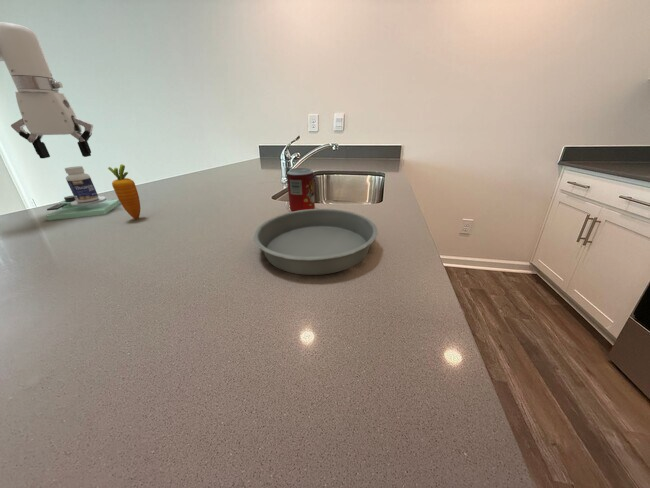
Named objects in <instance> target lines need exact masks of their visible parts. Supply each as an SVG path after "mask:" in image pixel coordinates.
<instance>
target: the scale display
mask: <svg viewBox="0 0 650 488" xmlns="http://www.w3.org/2000/svg"><path fill="white" fill-rule="evenodd" d="M66 205H67V203H64V204H60V203H57V204H54V205H53V206H51V207H49V208H46V211H57V210H59V209H61V208H62V207H64V206H66Z"/></svg>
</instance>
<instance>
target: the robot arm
mask: <svg viewBox="0 0 650 488" xmlns="http://www.w3.org/2000/svg"><path fill="white" fill-rule="evenodd" d="M0 62H4V64H5V66H6V68H7V71H8V73H9V75H10V77H11V80H12V81H13V83H14V85H15V88H16V90H17V91H15V92H14V93H15V98H16V102H17V106H18V109H19V113H20V116H21V117H22V118H20V119H19V120H17V121H15V122H13V123H12V124H10V127H11V128H12V129H13V130H14V131H15V132H16V133H17V134H18V135H19V136H20V137H22V138H23V139H25V140H26V141H27V142H29V143H31V144H32V146H33V148H34V151H35V153H36V155H37V156H38V157H39V159H48V158H50V157H51V155H50V153H49V150H48V148H47V146H46V143H45V142H43V141H42V139H43V137H44V136H59V135H61V136H65V135H70V136H72V137H73V138H75V139H76V140H77V146H78V148H79V151H80V153H81V155H82V157H84V158H87V157H91V156H92V150H91V147H90V145H89V142H88V141H89V140H90V138H91V136H92V134H93V133H92V132H93V130H94V124H92V123H90V122H88V121H85V120H82V119H81V118H78V116H77V115H76V112H75V111H74V109H73V107H72V105H71V104H70V102H69V100H68V98H67V96H65V94H64V93H61V92H60V89H63V87H64V86H63V83H62V82H61V81H57V80H55V78H54V76H53V74H52V71H51V69H50V66H49V64H48V61H47V59H46V56H45V53H44V51H43V48H42V45H41V43H40V41H39V38H38V36H37V34H36V32H34V30H32V29H31V28H29V27H27V26H25V25H22V24H18V23H15V22H14V23H13V22H6V21H0ZM24 127H26V129H27V130H28V131H26V130H25V128H24ZM82 127H83V128H84V130H82Z"/></svg>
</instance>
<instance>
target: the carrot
mask: <svg viewBox="0 0 650 488" xmlns="http://www.w3.org/2000/svg"><path fill="white" fill-rule="evenodd" d="M107 169H108V170H109V171H110V172H111V173H112V175H114V176H115V178H117V179H114V180H113V181H112V182H111V185H112V188H113V190H114V193H115V195H116V197H117V199H119V201H120V204H121V206H122V208H123V209H124V210H125V211H126V213H128V215H129V216H130V217H131V218H132V219H134V220H136V221H137V220H139V219H140V215H141V200H140V195H139V192H138V189H137V186H136V183H135V181H134V180H133V179H131V178H130V177H127V175H128V174H129V172H128V171H126V172H125V169H126V165H125V164H120V165H119V168H118V167H114V168H112V167H110V166H108V167H107Z"/></svg>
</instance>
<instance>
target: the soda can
mask: <svg viewBox="0 0 650 488" xmlns="http://www.w3.org/2000/svg"><path fill="white" fill-rule="evenodd" d="M286 178H287V179H286V180H287V192H288V193H287V194H288V203H289V209H290V212H294V211H299V210H308V209H316V208H315V207H316V203H315V202H316V201H315V185H314V184H315V180H314V171H313V170H312V169H311V168H309V167H294V168H293V167H292V168H290V169H289V170H288V171H287V172H286Z"/></svg>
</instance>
